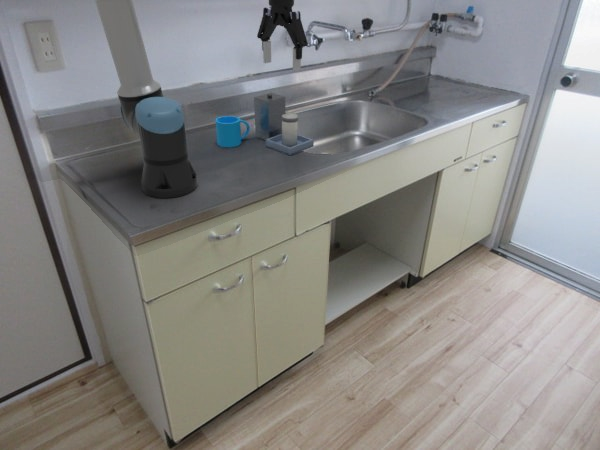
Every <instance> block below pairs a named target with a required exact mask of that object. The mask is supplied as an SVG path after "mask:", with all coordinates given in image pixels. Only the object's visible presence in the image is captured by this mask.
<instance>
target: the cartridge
mask: <svg viewBox="0 0 600 450" xmlns="http://www.w3.org/2000/svg"><path fill="white" fill-rule="evenodd" d="M298 123H299V115H298V114H296V113H291V112H287V113H286V112H285V114H283V115H282V145H285V146H287V147H293V146H296V145H298V142H297V136H298V134H299V133H298V130H299V129H298V128H299V124H298Z"/></svg>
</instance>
